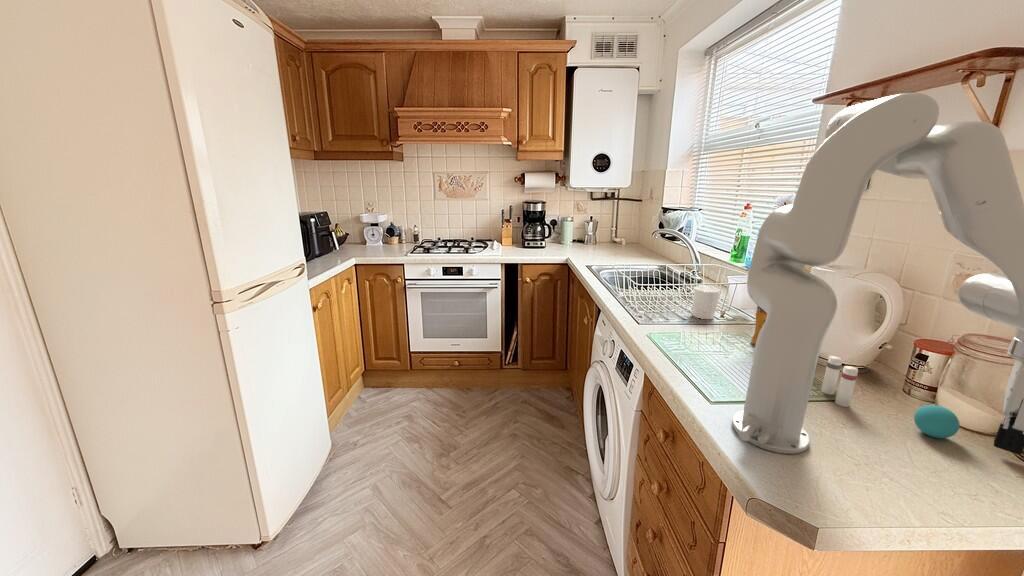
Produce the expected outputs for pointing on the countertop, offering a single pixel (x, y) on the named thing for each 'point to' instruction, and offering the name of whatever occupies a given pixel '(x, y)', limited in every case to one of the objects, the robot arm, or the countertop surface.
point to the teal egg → (936, 421)
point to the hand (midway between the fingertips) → (1006, 448)
